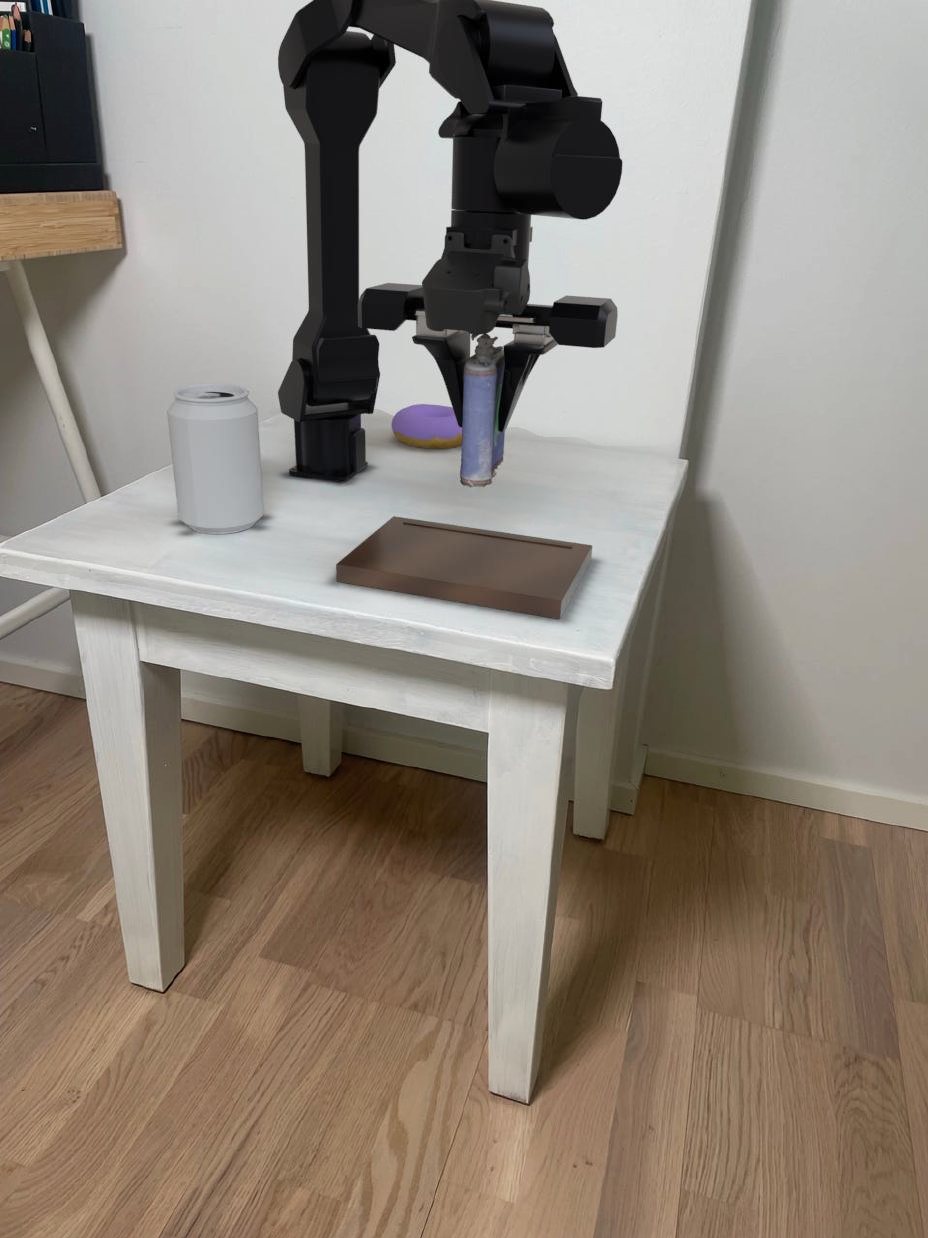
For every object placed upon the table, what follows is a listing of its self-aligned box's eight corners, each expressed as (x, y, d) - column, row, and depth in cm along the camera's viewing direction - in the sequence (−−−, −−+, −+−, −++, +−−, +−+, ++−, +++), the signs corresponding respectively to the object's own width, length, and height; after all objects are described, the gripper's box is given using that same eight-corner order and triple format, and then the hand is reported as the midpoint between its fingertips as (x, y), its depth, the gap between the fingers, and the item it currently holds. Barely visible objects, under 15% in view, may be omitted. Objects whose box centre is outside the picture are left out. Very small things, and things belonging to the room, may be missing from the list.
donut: (380, 444, 107) (382, 401, 105) (401, 441, 115) (404, 401, 114) (464, 452, 105) (467, 409, 104) (479, 448, 114) (483, 408, 112)
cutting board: (336, 581, 72) (335, 562, 72) (393, 531, 83) (393, 514, 82) (559, 619, 68) (561, 599, 67) (591, 561, 78) (592, 543, 77)
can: (279, 515, 85) (272, 385, 80) (236, 542, 79) (225, 402, 74) (209, 504, 87) (198, 376, 82) (161, 530, 81) (146, 392, 76)
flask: (489, 490, 69) (495, 343, 65) (451, 486, 70) (454, 341, 65) (507, 458, 78) (513, 326, 73) (473, 455, 78) (477, 324, 74)
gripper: (322, 208, 61) (329, 440, 68) (601, 222, 56) (579, 470, 63) (385, 204, 71) (386, 408, 77) (628, 216, 66) (606, 432, 73)
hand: (482, 428), depth 72 cm, fingers closed on flask, 3 cm apart
